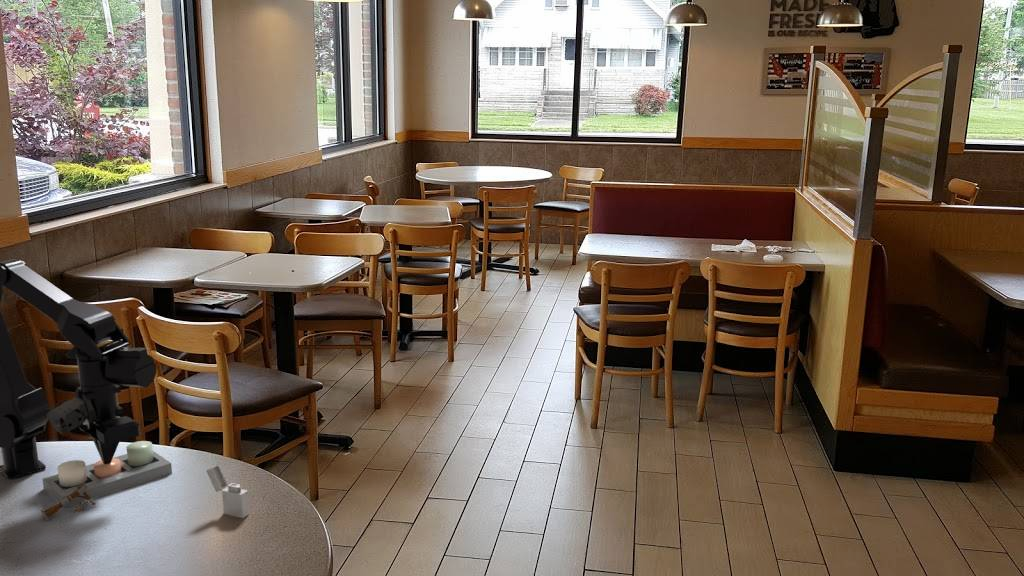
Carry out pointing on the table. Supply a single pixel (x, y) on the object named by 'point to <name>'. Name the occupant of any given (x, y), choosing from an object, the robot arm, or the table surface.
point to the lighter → (229, 493)
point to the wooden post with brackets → (66, 500)
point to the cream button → (72, 473)
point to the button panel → (110, 479)
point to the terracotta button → (107, 468)
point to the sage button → (140, 453)
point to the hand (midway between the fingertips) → (107, 463)
